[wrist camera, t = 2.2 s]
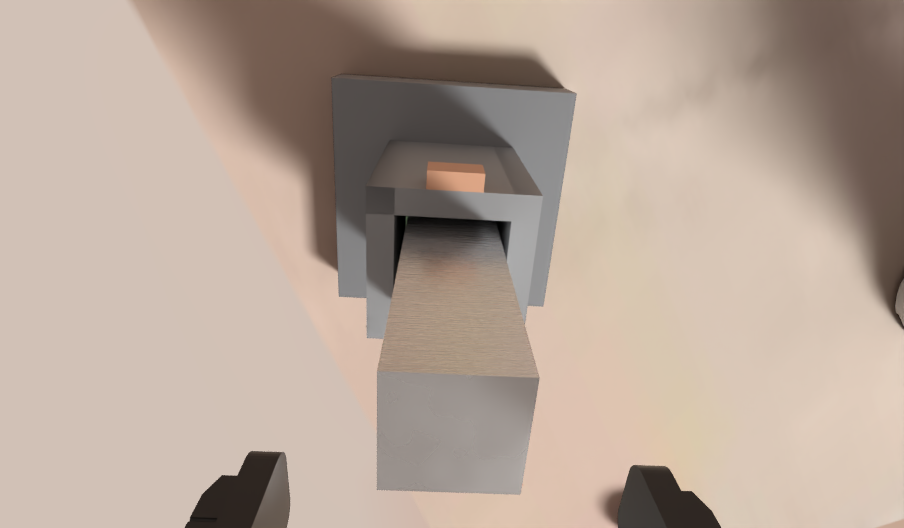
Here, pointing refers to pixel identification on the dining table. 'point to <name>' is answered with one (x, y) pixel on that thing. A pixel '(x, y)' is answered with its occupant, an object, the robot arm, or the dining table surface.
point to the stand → (445, 174)
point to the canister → (900, 302)
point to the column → (454, 365)
